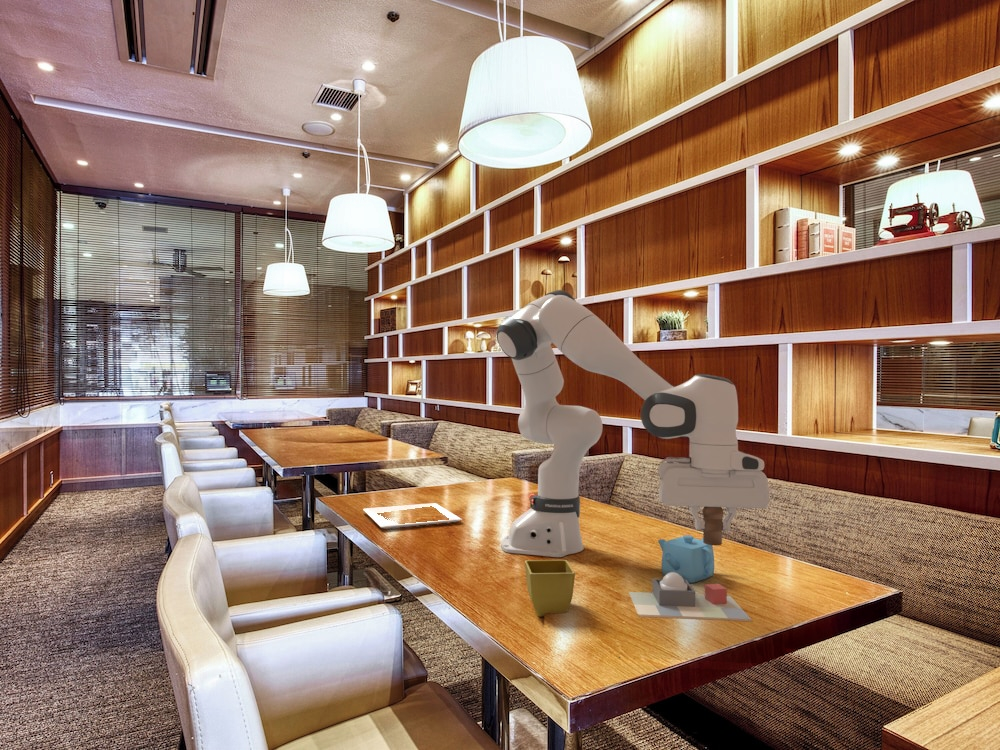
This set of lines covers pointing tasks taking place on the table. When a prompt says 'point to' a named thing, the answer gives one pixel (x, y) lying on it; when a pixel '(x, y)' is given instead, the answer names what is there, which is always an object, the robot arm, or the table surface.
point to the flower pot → (550, 585)
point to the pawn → (712, 525)
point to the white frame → (391, 524)
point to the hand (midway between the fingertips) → (712, 529)
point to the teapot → (687, 558)
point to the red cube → (715, 594)
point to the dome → (673, 582)
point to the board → (684, 605)
